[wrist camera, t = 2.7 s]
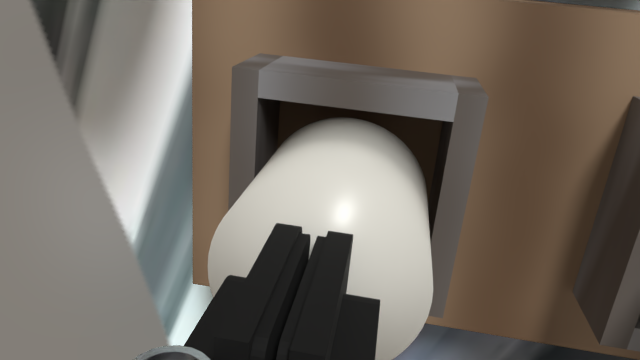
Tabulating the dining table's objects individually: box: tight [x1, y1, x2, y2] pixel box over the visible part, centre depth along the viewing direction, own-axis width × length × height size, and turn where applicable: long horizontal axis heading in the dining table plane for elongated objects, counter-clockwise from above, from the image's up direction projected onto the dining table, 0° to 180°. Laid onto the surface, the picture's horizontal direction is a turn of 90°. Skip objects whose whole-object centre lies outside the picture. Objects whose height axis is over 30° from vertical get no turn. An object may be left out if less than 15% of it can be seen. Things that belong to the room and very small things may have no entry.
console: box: [192, 0, 640, 360], centre depth 19 cm, size 24×12×9 cm, turn 84°
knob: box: [208, 117, 433, 360], centre depth 14 cm, size 5×5×5 cm
